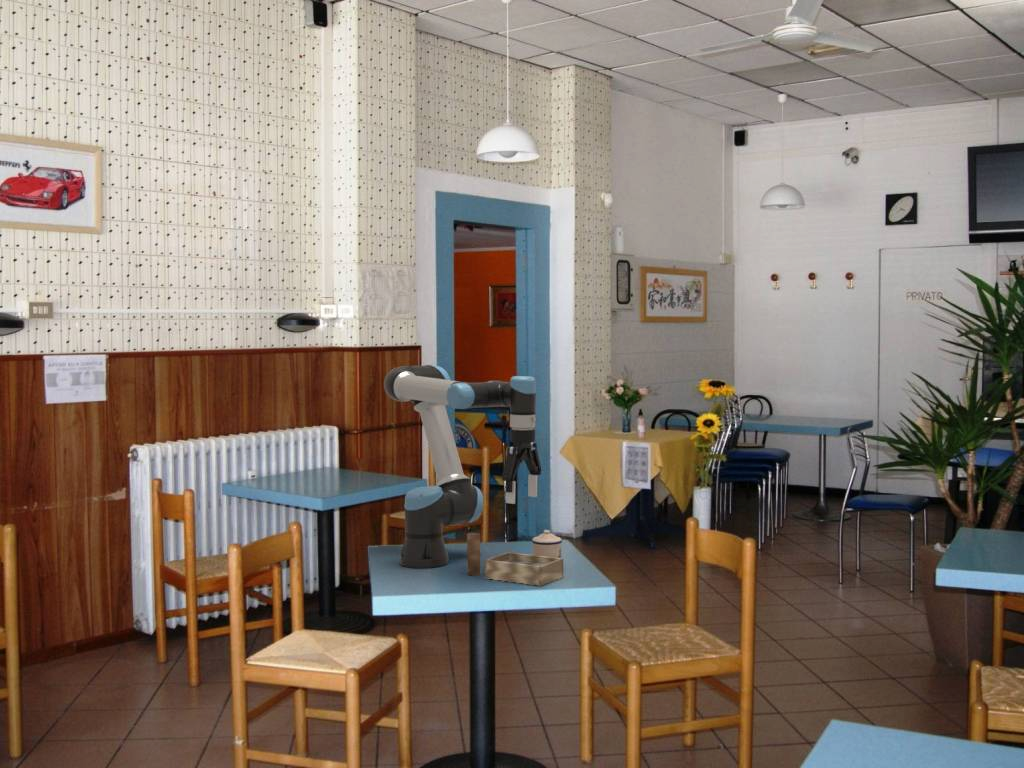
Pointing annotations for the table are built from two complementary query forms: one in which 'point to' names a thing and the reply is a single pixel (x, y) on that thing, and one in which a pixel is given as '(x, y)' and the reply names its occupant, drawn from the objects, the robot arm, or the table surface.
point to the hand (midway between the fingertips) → (521, 499)
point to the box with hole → (523, 568)
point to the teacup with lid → (547, 545)
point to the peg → (473, 553)
